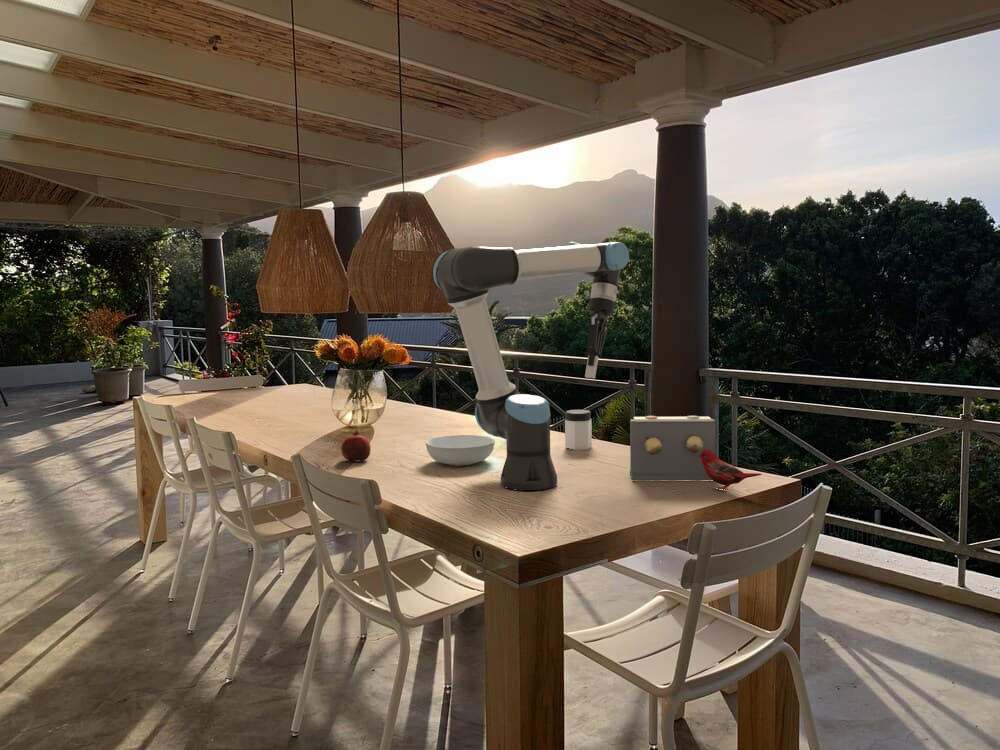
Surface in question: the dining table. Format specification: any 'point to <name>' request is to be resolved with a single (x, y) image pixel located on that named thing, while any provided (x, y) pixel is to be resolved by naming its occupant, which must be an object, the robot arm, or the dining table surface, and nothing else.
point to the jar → (578, 430)
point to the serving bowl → (460, 449)
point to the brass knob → (653, 445)
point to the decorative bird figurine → (722, 470)
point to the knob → (694, 443)
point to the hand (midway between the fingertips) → (589, 377)
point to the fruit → (356, 447)
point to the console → (669, 447)
